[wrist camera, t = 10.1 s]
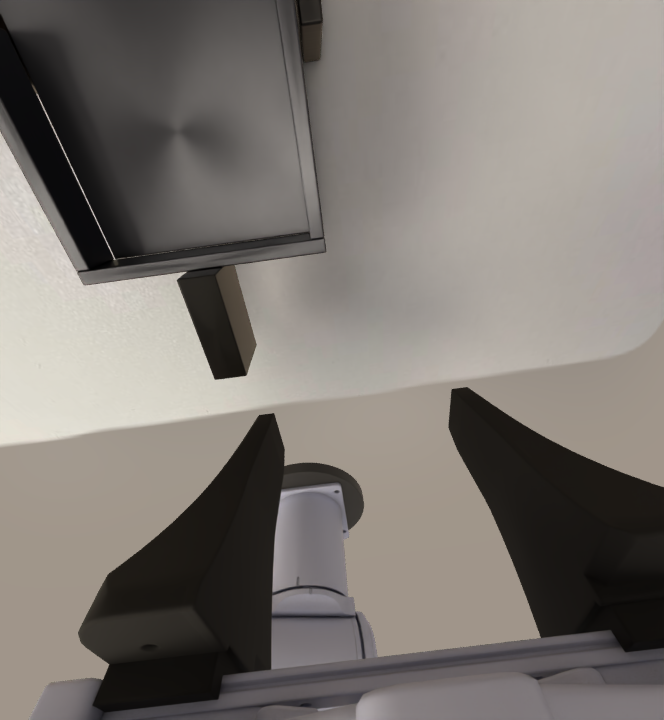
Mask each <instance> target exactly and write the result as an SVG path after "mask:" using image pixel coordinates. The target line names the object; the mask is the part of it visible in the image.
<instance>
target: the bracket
mask: <svg viewBox="0 0 664 720" xmlns="http://www.w3.org/2000/svg"><path fill="white" fill-rule="evenodd" d="M296 6H297V14H298V22H299V30H300V38H301V46H302V54H303V60H304V62H310V61H317V60H320V57H321V41H322V25H323V17H322V6H321V0H296ZM0 28H2V29H4V30H5V31H6V32H7V33H8V36H9V38H10V40H11V42H12V44H13V46H14V48H15V50H16V53H17V55H18V57H19V59H20V61H21V63H22V65H23V67H24V69H25V72H26V74H27V76H28V78H29V80H30V82H31V84H32V86H33V89H34V91H35V93H36V94H38V93H37V91H36V89H35V87H34V85H33V83H32V80H31V78H30V76H29V74H28V72H27V70H26V68H25V66H24V63H23V61H22V59H21V57H20V55H19V53H18V51H17V49H16V46H15V44H14V42H13V40H12V38H11V36H10V34H9V32H8V29H7V27H6V25H5V23H4V21H3V19H2V17H1V14H0Z"/></svg>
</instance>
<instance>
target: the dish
mask: <svg viewBox="0 0 664 720" xmlns="http://www.w3.org/2000/svg"><path fill="white" fill-rule="evenodd" d="M0 14H1V17H2V19H3V21H4V23H5V25H6V27H7V29H8V32H9V34H10V36H11V38H12V40H13V42H14V44H15V46H16V49H17V51H18V53H19V55H20V57H21V59H22V61H23V63H24V66H25V68H26V70H27V72H28V74H29V76H30V78H31V80H32V83H33V85H34V87H35V89H36V91H37V93H38V95H39V97H40V100H41V102H42V104H43V106H44V108H45V110H46V112H47V115H48V117H49V119H50V121H51V123H52V125H53V127H54V129H55V132H56V134H57V136H58V138H59V140H60V142H61V144H62V146H63V149H64V151H65V153H66V155H67V157H68V159H69V161H70V163H71V166H72V168H73V170H74V172H75V174H76V176H77V178H78V180H79V183H80V185H81V187H82V189H83V191H84V193H85V195H86V198H87V200H88V202H89V204H90V206H91V208H92V210H93V212H94V215H95V217H96V219H97V221H98V223H99V225H100V227H101V229H102V232H103V234H104V236H105V238H106V240H107V242H108V244H109V246H110V249H111V251H112V253H113V255H114V257H115V259H116V260H113V259H114V258H113V256H112V254H111V252H110V249H109V247H108V245H107V243H106V241H105V239H104V237H103V235H102V233H101V230H100V228H99V226H98V224H97V222H96V220H95V218H94V216H93V213H92V211H91V209H90V207H89V205H88V203H87V201H86V199H85V197H84V194H83V192H82V190H81V188H80V186H79V184H78V182H77V180H76V177H75V175H74V173H73V171H72V169H71V167H70V165H69V163H68V161H67V158H66V156H65V154H64V152H63V150H62V148H61V146H60V144H59V141H58V139H57V137H56V135H55V133H54V131H53V129H52V127H51V125H50V122H49V120H48V118H47V116H46V114H45V112H44V110H43V108H42V105H41V103H40V101H39V99H38V97H37V95H36V93H35V91H34V89H33V86H32V84H31V82H30V80H29V78H28V76H27V74H26V72H25V69H24V67H23V65H22V63H21V61H20V59H19V57H18V55H17V53H16V50H15V48H14V46H13V44H12V42H11V40H10V38H9V36H8V33H7V32H6V31H5V30H4V29H2V28H0V132H1V133H2V135H3V137H4V139H5V141H6V143H7V144H8V146H9V148H10V150H11V152H12V154H13V155H14V157H15V159H16V161H17V163H18V165H19V167H20V168H21V170H22V172H23V174H24V176H25V178H26V179H27V181H28V183H29V185H30V187H31V189H32V190H33V192H34V194H35V196H36V198H37V200H38V201H39V203H40V205H41V207H42V209H43V211H44V212H45V214H46V216H47V218H48V220H49V222H50V224H51V225H52V227H53V229H54V231H55V233H56V235H57V236H58V238H59V240H60V242H61V244H62V246H63V247H64V249H65V251H66V253H67V255H68V257H69V258H70V260H71V262H72V264H73V266H74V268H75V269H76V271H78V272H77V274H78V275H79V277H80V279H81V281H82V283H83V285H92V284H99V283H106V282H114V281H121V280H128V279H135V278H143V277H150V276H157V275H165V274H172V273H179V272H187V271H188V272H187V273H185V274H184V275H183V276H181V277H180V278H179V279H178V280H177V282H178V285H179V287H180V290H181V293H182V295H183V298H184V300H185V303H186V306H187V308H188V311H189V313H190V316H191V319H192V321H193V324H194V326H195V329H196V332H197V334H198V337H199V339H200V342H201V345H202V347H203V350H204V353H205V355H206V358H207V360H208V363H209V366H210V368H211V371H212V373H213V376H214V379H215V380H217V379H225V378H233V377H240V376H246V375H247V373H248V370H249V366H250V363H251V360H252V357H253V354H254V351H255V348H256V341H255V337H254V334H253V330H252V327H251V323H250V320H249V316H248V312H247V309H246V305H245V302H244V298H243V294H242V291H241V287H240V284H239V280H238V277H237V273H236V269H235V266H234V265H238V264H245V263H252V262H260V261H267V260H274V259H282V258H289V257H296V256H304V255H311V254H318V253H325V252H326V245H325V238H324V229H323V221H322V213H321V206H320V198H319V190H318V182H317V174H316V166H315V158H314V150H313V142H312V134H311V126H310V118H309V110H308V102H307V94H306V86H305V78H304V71H303V63H302V55H301V47H300V39H299V31H298V23H297V15H296V7H295V0H0ZM309 232H310V233H309ZM302 233H304V234H302ZM294 234H297V235H294ZM287 235H290V236H287ZM280 236H283V237H280ZM273 237H275V238H273ZM265 238H268V239H265ZM258 239H261V240H258ZM251 240H254V241H251ZM244 241H247V242H244ZM236 242H239V243H236ZM229 243H232V244H229ZM222 244H225V245H222ZM215 245H218V246H215ZM207 246H210V247H207ZM200 247H203V248H200ZM193 248H196V249H193ZM186 249H189V250H186ZM179 250H181V251H179ZM171 251H174V252H171ZM164 252H167V253H164ZM157 253H160V254H157ZM150 254H152V255H150ZM142 255H145V256H142ZM135 256H138V257H135ZM128 257H131V258H128ZM121 258H123V259H121Z"/></svg>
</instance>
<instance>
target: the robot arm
mask: <svg viewBox="0 0 664 720" xmlns="http://www.w3.org/2000/svg"><path fill="white" fill-rule="evenodd" d="M449 430H450V432H451V435H452V438H453V440H454V443H455V445H456V447H457V450H458V452H459V454H460V456H461V457H462V459H463V461H464V463H465V465H466V466H467V468H468V470H469V472H470V474H471V475H472V477H473V479H474V481H475V482H476V484H477V486H478V488H479V490H480V491H481V493H482V495H483V496H484V498H485V500H486V502H487V504H488V506H489V508H490V510H491V512H492V515H493V517H494V519H495V521H496V524H497V526H498V528H499V530H500V533H501V535H502V537H503V540H504V542H505V545H506V547H507V549H508V552H509V554H510V557H511V559H512V561H513V564H514V566H515V569H516V572H517V574H518V577H519V579H520V582H521V585H522V587H523V590H524V592H525V595H526V597H527V600H528V603H529V606H530V609H531V611H532V614H533V617H534V620H535V622H536V625H537V628H538V631H539V633H540V636H541V638H537V639H529V640H520V641H512V642H504V643H495V644H486V645H478V646H469V647H461V648H453V649H444V650H435V651H427V652H418V653H410V654H401V655H392V656H384V657H377V650H376V644H375V639H374V634H373V631H372V628H371V625H370V623H369V622H368V621H367V619H366V618H365V616H364V614H363V613H362V612H355V605H354V598H353V597H348V589H347V577H346V566H345V565H346V564H345V552H344V540H343V539H346V538H348V537H349V531H348V525H347V518H346V512H345V506H344V500H343V494H342V488H341V484H340V483H338V482H335V483H327V484H319V485H310V486H302V487H294V488H286V489H282V483H283V476H284V451H285V449H284V445H283V442H282V439H281V435H280V432H279V428H278V425H277V422H276V418H275V415H274V413H272V414H265V415H259V416H258V417H257V419H256V421H255V422H254V424H253V425H252V427H251V428H250V430H249V432H248V433H247V435H246V436H245V438H244V439H243V441H242V442H241V444H240V445H239V447H238V448H237V450H236V451H235V452H234V454H233V455H232V457H231V458H230V459H229V461H228V462H227V464H226V465H225V466H224V467H223V469H222V470H221V471H220V473H219V474H218V475H217V476H216V477H215V479H214V480H213V481H212V482H211V484H210V485H209V486H208V487H207V488H206V489H205V490H204V491H203V493H202V494H201V495H200V496H199V497H198V498H197V499H196V500H195V501H194V502H193V503H192V504H191V505H190V506H189V507H188V508H187V509H186V510H185V511H184V512H183V513H182V514H181V515H180V516H179V517H178V518H177V519H176V520H175V521H174V522H173V523H172V524H170V525H169V526H168V527H167V528H166V529H165V530H164V531H162V532H161V533H160V534H159V535H158V536H157V537H155V538H154V539H153V540H152V541H151V542H150V543H148V544H147V545H146V546H145V547H143V548H142V549H141V550H140V551H138V552H137V553H136V554H134V555H133V556H132V557H130V558H129V559H128V560H127V561H125V562H124V563H123V564H121V565H120V566H119V567H118V568H116V569H115V570H113V571H112V572H111V573H109V574H108V575H107V577H106V579H105V581H104V583H103V584H102V586H101V588H100V590H99V592H98V594H97V596H96V598H95V600H94V602H93V604H92V606H91V608H90V610H89V611H88V613H87V615H86V617H85V619H84V621H83V623H82V626H81V627H80V630H79V632H78V635H79V638H80V641H81V643H82V644H83V645H84V646H85V647H86V648H87V649H89V650H91V651H92V652H93V653H94V654H96V655H97V656H99V657H100V658H102V659H103V660H104V661H106V662H107V663H108V664H110V665H109V667H108V669H107V672H106V674H105V677H104V679H103V680H101V679H96V678H85V679H76V680H68V681H60V682H51V683H49V684H48V685H47V686H46V687H45V689H44V691H43V692H42V694H41V696H40V698H39V700H38V702H37V704H36V706H35V708H34V710H33V711H32V714H31V715H30V717H29V719H28V720H664V487H661V486H658V485H655V484H651V483H649V482H646V481H643V480H640V479H638V478H635V477H632V476H630V475H627V474H624V473H621V472H619V471H617V470H614V469H612V468H609V467H607V466H604V465H602V464H600V463H597V462H595V461H593V460H590V459H588V458H586V457H584V456H581V455H579V454H577V453H575V452H572V451H571V450H569V449H567V448H565V447H563V446H561V445H559V444H557V443H555V442H553V441H551V440H549V439H547V438H545V437H543V436H542V435H540V434H538V433H536V432H535V431H533V430H531V429H530V428H528V427H526V426H524V425H523V424H521V423H519V422H518V421H516V420H515V419H513V418H512V417H510V416H509V415H507V414H506V413H504V412H503V411H501V410H500V409H498V408H497V407H495V406H494V405H492V404H491V403H489V402H488V401H486V400H485V399H484V398H482V397H481V396H479V395H478V394H476V393H475V392H473V391H472V390H471V389H469V388H468V387H465V388H457V389H452V392H451V404H450V415H449Z"/></svg>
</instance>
